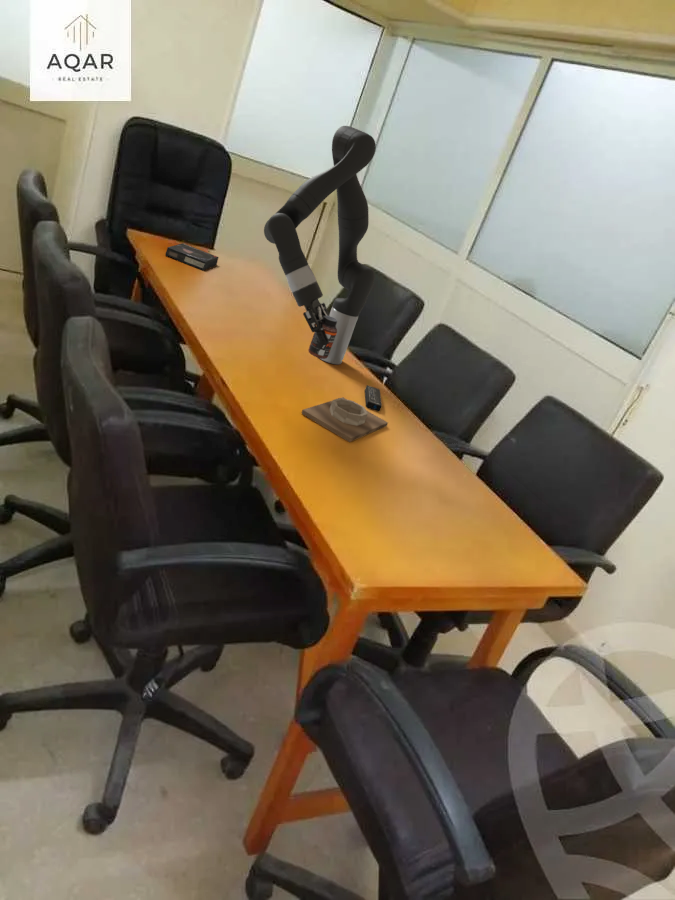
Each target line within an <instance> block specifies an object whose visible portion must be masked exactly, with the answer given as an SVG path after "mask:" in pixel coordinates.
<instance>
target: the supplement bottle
mask: <svg viewBox="0 0 675 900" xmlns="http://www.w3.org/2000/svg"><path fill="white" fill-rule="evenodd" d="M336 324H337V320H336V319H335V318H333V317H330V316H324V318H323V323H322V325H323V328H324V331H325V333H326V335H327V338H328V340H329V343H328V344H325V345H322V344H321V342H320V340H319V338H318V336H317V333H315V332H313V336H312V339H311V341H310V345H309V347H308V349H307V350H308V353H309V354H310V355H312V357H315V358H318V359H320V358H321V359H326V358H327V357H328V355H329V353H330V350H331V347H332V344H333V342H334V339H335V336H336V334H337V328H336ZM321 359H320V360H321Z"/></svg>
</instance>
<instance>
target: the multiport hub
mask: <svg viewBox="0 0 675 900" xmlns="http://www.w3.org/2000/svg"><path fill="white" fill-rule="evenodd" d="M364 397H365V398H364V400H365V409H366V408H367V409H369V410H373V411H376V412H381V409H382V407H383V404H382V397H381V390H380V388H377V387H374V386H371V385H367V384H366V387H365V389H364Z"/></svg>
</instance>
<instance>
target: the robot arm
mask: <svg viewBox="0 0 675 900" xmlns="http://www.w3.org/2000/svg"><path fill="white" fill-rule="evenodd" d="M331 141H332V144H331V155H332V162H333V166H331V167H330V168H328V169H326V170H324V171H322V172H320V173H318V174H316V175H314V176H312V177H309V178H308V179H307V180H305V181H304V182H303V183H302V184H301V185H300V186H299V187H298V188H297V189H296V190H295V191H294V192H293V193H292V194H291V196H290V197H288V199H287V200H286V202H285V203H284V205H283V206H281V207H280V209H279V210H278V211H276V212H275V213H274V214H272V215H271V217H270V218H268V220H267V221H266V222H265V224H264V228H263V234H264V237H265V239H266V240H267V241H268V242H269V243H271V244H274V246H275V247H276V250H277V252H278V261H279V263H280V267H281V268H282V270H283V274H284V275H285V278H286V282H287V284H288V287H289V289H290V291H291V294H292V296H293V298H294V300H295V302H296V304H297V306H298V307H303V306H304V308H305V312H303V313H302V315H303V317H304V319H305V321H306V322H307V323H306V324H307V325H308V327H309V328H310V330H311V332H312V333H314V332H315V333H317V336H318V338H319V340H320V342H321V344H322V345H325V344H328V343H329V340H328V338H327V335H326V333H325V331H324V328H323V325H322V323H323V318H324V316H330V317H333V318H335V319H336V320H337V324H336V328H337V334H336V336H335V339H334V342H333V344H332V347H331V350H330V353H329V355H328V357H327V358H326V359H321V358H319V359H320V360H322V361H324V362H326V363H329V364H332V365H341V364H342V363H343V361H342V360H344V357H345V355H346V352H347V350H348V346H349V345H350V341H351V339H352V335H353V333H354V329H355V327H356V323H357V321H358V319H359V315H360V314H361V312H362V310H363V308H364V307H365V305H366V303H367V301H368V298H369V296H370V293H371V291H372V289H373V286H374V283H375V277H376V276H375V272H374V269H372V268H371V267H368V266H367V265H365V264H363V263H361V262H359V260H358V245H359V244H360V242H361V240H363V238H364V236H365V235H366V233H367V231H368V228H369V221H370V220H369V219H370V218H369V217H370V216H369V203H368V200H367V198H366V195H365V193H364V190H363V188H362V186H361V183H360V181H359V178H358V173H360V172H361V171H362V170H363V169H364V168H366V167H367V166H368V165H369V164H370V162H371V161H372V160H373V158H374V156H375V153H376V149H377V148H376V147H377V145H376V141H375V139H374V137H373V136H372V135H371V134H368V133H367V132H365V131H363V130H360V129H358V128H355V127H352V126H349V125H342V126H339V128H337V130H335V133H334V135H333V137H332V140H331ZM335 191H336V199H337V200H336V201H337V225H338V226H337V227H338V258H337V259H338V261H337V280H338V283H339V284H340V285H341V287H342V288H344V289H346V290H348V291H349V294H348V296H347V297H346V298H345V297H344V298H343V297H336V298H335V299H334V300H333V303H332V307H331V309H330V312H329V311H328V309H327V306H326V302H322V303H321V302H320V300H319V299H320V298H322V297H323V296H324V295H323V291H322V290H321V287H320V285H319V283H318V281H317V278H316V276H315V274H314V272H313V270H312V268H311V267H310V265H309V263H308V261H307V258H306V256H305V253H304V251H303V250H302V247H301V242H300V238H299V235H298V232H297V228H298V227H299V226H300V224H301V223H303V222H304V220H305V221H306V219H308V218H309V217H310V215H311V214H312V213H313V212H314V211H315V210H316V209H317V208H318V207H319V206H320V205H321V204H322V203H323V202H324V201H325V200H326V198H327V197H329V196H330V195H331V194H332V193H333V192H335Z"/></svg>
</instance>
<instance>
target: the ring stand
mask: <svg viewBox="0 0 675 900" xmlns="http://www.w3.org/2000/svg"><path fill="white" fill-rule="evenodd" d="M301 413H302V414H303V416H304V415H305V416H304V417H306V416H307V417H306V418H307V419H309V418H310V420H311V419H312V420H311V421H313V422H314V421H315V422H314V423H316V424H318V425H319V426H322V427H323V428H324V429H327V430H329V431H330V432H331V433H333V434H335V435H336V436H338V437H340V438H341V439H343V440H345V441H346V442H349V443H351V442H354V441H355V440H358V439H361V438H363V437H365V436H367V435H369V434H372V433H374V432H377V431H378V430H381V429H384V428H386V427H387V426H388V424H389V422H387V421H386V420H384V419H383V418H381V417H379V416H378V415H376V414H374V413H372V412H370V411H368V410H367V409H366V406H363V405H361V404H360V403H358V402H355V401H354V400H351V399H347V398H345V397H343V396H342V397H338V398H335V399H332V400H329V401H326V402H323V403H320V404H317V405H314V406H311V407H307V408H304V409H302V410H301ZM302 414H301V415H302Z"/></svg>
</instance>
